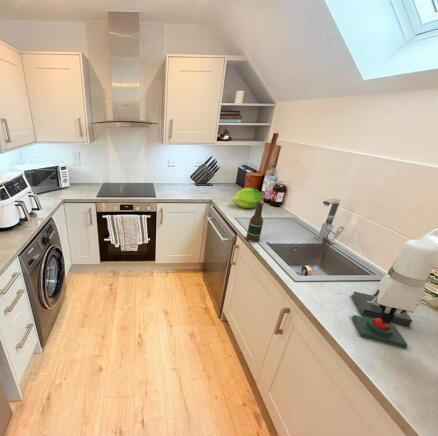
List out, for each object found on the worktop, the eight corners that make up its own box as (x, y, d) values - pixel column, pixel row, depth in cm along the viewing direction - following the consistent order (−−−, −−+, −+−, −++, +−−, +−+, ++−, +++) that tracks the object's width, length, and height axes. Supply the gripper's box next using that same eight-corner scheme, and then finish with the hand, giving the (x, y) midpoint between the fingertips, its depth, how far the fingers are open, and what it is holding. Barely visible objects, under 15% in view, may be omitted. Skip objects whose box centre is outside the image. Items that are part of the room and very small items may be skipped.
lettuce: (229, 211, 204) (227, 192, 207) (259, 209, 202) (256, 190, 205) (235, 207, 186) (233, 186, 188) (268, 204, 184) (265, 183, 187)
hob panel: (393, 306, 96) (396, 300, 94) (408, 326, 86) (412, 320, 85) (351, 296, 100) (354, 291, 99) (361, 315, 91) (364, 309, 90)
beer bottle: (257, 236, 150) (265, 201, 141) (261, 242, 143) (269, 205, 134) (245, 235, 152) (251, 200, 142) (247, 241, 145) (254, 205, 135)
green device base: (392, 327, 86) (396, 320, 84) (405, 348, 78) (410, 341, 77) (351, 317, 90) (355, 311, 89) (361, 336, 82) (364, 329, 81)
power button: (384, 323, 84) (386, 319, 83) (389, 331, 81) (391, 327, 80) (371, 320, 85) (373, 316, 84) (376, 328, 82) (378, 324, 81)
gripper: (431, 275, 75) (406, 318, 82) (372, 266, 80) (354, 307, 87) (447, 290, 69) (419, 335, 76) (382, 279, 74) (362, 322, 81)
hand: (384, 320), depth 82 cm, fingers closed
